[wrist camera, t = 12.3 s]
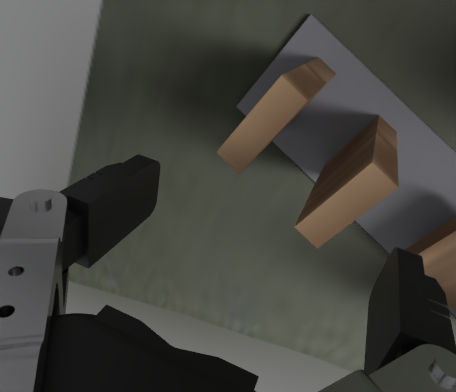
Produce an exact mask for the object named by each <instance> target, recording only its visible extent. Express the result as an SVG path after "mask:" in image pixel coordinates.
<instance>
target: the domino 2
mask: <svg viewBox="0 0 456 392" xmlns="http://www.w3.org/2000/svg"><path fill="white" fill-rule="evenodd" d="M397 188H399V185H398V158H397V132H396V131H395V130H394V129H393V128H392V127H391V126H390V125H389V124H388V123H387V122H386V121H385V120H384V119H383V118H382V117H381V116H380V115H378V116H377V117H376V118H375V119H374V120H373V121H372V122H371V123H369V124H368V125H367V126H366V127H365V128H364V129H363V130H362V131H361V132H360V133H358V134H357V135H356V136H355V137H354V138H353V139H352V140H351V141H350V142H349V143H347V144H346V145H345V146H344V147H343V148H342V149H341V150H340V151H339V152H337V153H336V154H335V155H334V156H333V157H332V158H331V159H330V160H329V161H328V162H326V163H325V164H324V166H323V168H322V170H321V173H320V175H319V177H318V179H317V181H316V183H315V185H314V187H313V189H312V191H311V194H310V196H309V198H308V200H307V202H306V204H305V206H304V208H303V210H302V212H301V215H300V217H299V219H298V221H297V223H296V225H295V228H296V229H297V230H298V231H299V232H300V233H301V234H302V235H303V236H304V237H305V238H306V239H308V240H309V241H310V242H311V243H312V244H313V245H314V246H315V247H316V248H317V249H318V248H319V247H320V246H322V245H323V244H324V243H326V242H327V241H328V240H330V239H331V238H332V237H334V236H335V235H336V234H338V233H339V232H340V231H342V230H343V229H344V228H346V227H347V226H348V225H350V224H351V223H352V222H354V221H355V220H356V219H358V218H359V217H360V216H362V215H363V214H364V213H366V212H367V211H368V210H370V209H371V208H372V207H374V206H375V205H376V204H378V203H379V202H380V201H382V200H383V199H384V198H386V197H387V196H388V195H390V194H391V193H392V192H393V191H395V190H396V189H397Z"/></svg>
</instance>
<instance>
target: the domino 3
mask: <svg viewBox="0 0 456 392" xmlns="http://www.w3.org/2000/svg"><path fill="white" fill-rule="evenodd" d="M405 250H407V251H409V252H412V253H415V254H418V255H421V256H422V258H423V264H424V272H425V275H427V276H430V277H432V278H435V279H436V280H437V282H438V283H439V285H440V286H441V287H442V289H443V290H444V292H445V294H446V299H447V304H448V306H449V307H450V308H452V309H453V310H454V311H455V312H456V217H455V218H454V219H452V220H450V221H449V222H447V223H446V224H444V225H443V226H441V227H439V228H438V229H436V230H435V231H433V232H432V233H430V234H428V235H427V236H425V237H424V238H422V239H421V240H419V241H417V242H416V243H414V244H413V245H411V246H410V247H408V248H407V249H405Z"/></svg>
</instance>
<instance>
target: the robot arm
mask: <svg viewBox="0 0 456 392" xmlns="http://www.w3.org/2000/svg"><path fill="white" fill-rule="evenodd" d="M159 175H160V163H159V162H158V161H156V160H153V159H150V158H147V157H144V156H142V155H136V156H134V157H132V158H131V159H129V160H127V161H125V162H124V163H117V164H112V165H108V166H105V167H103V168H102V169H100V170H98V171H96V173H93V174H91V175H89V176H87V178H84V179H82V180H80V181H78V182H76V183H74V184H73V185H71V186H69V187H67V188H65V189H64V190H62V191H60V192H57V191H53V190H46V189H38V190H32V191H27V192H24V193H22V194H20V195H18V196H17V197H16V198H15V199H8V198H2V197H0V392H256V391H255V390H254V388H255V385H256V383H257V380H258V376H256V375H255V374H252V373H250V372H248V371H246V370H244V369H242V368H240V367H238V366H236V365H233V364H231V363H229V362H227V361H225V360H223V359H220V358H218V357H214V356H210V355H205V354H200V353H196V352H192V351H187V350H182V349H178V348H175V347H173V346H171V345H169V344H168V343H167V342H166V341H165V340H163V339H162V338H161V337H160V336H159V335H157V334H156V333H155V332H154V331H153V330H151V329H150V328H149V327H148V326H147V325H145V324H144V323H143V322H142V321H140V320H138V319H136V318H134V317H132V316H130V315H127V314H125V313H123V312H121V311H119V310H116V309H115V308H113V307H110V306H108V305H106V306H105V307H104V308H103V309H102V310H101V311H100V312H99V313H98V314H97V315H92V314H80V313H79V314H78V313H75V314H74V313H73V314H65V313H66V303H67V293H68V282H69V266H71V265H72V264H73V263H74V262H75V263H78V264H80V265H82V266H84V267H86V268H90V267H91V266H92V265H93V264H94V263H95V262H97V261H98V260H99V259H100V258H101V257H102V256H104V255H105V254H106V253H107V252H108V251H109V250H111V249H112V248H113V247H114V246H115V245H116V244H118V243H119V242H120V241H121V240H122V239H123V238H125V237H126V236H127V235H128V234H129V233H130V232H132V231H133V230H134V229H135V228H136V227H137V226H139V225H140V224H141V223H142V222H143V221H144V220H146V219H147V218H148V217H149V216H150V215H151V213H152V212H153V210H154V208H155V205H156V202H157V194H158V185H159ZM447 307H448V304H447V299H446V294H445V292H444V290H443V289H442V287H441V286H440V285H439V283H438V282H437V280H436V279H435V278H432V277H430V276H427V275H425V272H424V264H423V258H422V256H421V255H418V254H415V253H412V252H409V251H407V250H404V249H401V248H398V247H395V248H394V249H393V250H392V252H391V254H390V256H389V258H388V260H387V262H386V264H385V266H384V268H383V269H382V271H381V273H380V275H379V277H378V279H377V281H376V283H375V285H374V287H373V290H372V293H371V296H370V300H369V307H368V321H367V335H366V349H365V364H364V371H363V370H357V371H355V372H353V373H351V374H349V375H347V376H346V377H344V378H342V379H340V380H339V381H337V382H335V383H333V384H331V385H329V386H328V387H326V388H324V389H322V390H321V391H319V392H456V345H455V340H454V335H453V330H452V325H451V320H450V319H449V318H450V315H449V309H448V308H447Z"/></svg>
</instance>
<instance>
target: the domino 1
mask: <svg viewBox="0 0 456 392" xmlns="http://www.w3.org/2000/svg"><path fill="white" fill-rule="evenodd" d="M335 75H336V73H335V72H334V71H333V70H332V69H331V68H330V67H329V66H328V65H327V64H326V63H324V62H323V61H322V60H321V59H320V58H319V57H318V58H316V59H314V60H312V61H310V62H308V63H306V64H304V65H302V66H300V67H297V68H295V69H293V70H291V71H289V72H287V73H285V74H283V75H281V76H280V77H279V79H278V80H277V81H276V82H275V83H274V85H273V86H272V87H271V88H270V89H269V90H268V92H267V93H266V94H265V95H264V96H263V97H262V99H261V100H260V101H259V102H258V103H257V105H256V106H255V107H254V108H253V109H252V110H251V112H250V113H249V114H248V115H247V116H246V118H245V119H244V120H243V121H242V122H241V123H240V125H239V126H238V127H237V128H236V129H235V131H234V132H233V133H232V134H231V135H230V136H229V138H228V139H227V140H226V141H225V142H224V144H223V145H222V146H221V147H220V148H219V149H218V151H217V153H218V154H219V155H220V156H221V157H222V158H223V159H224V160H225V161H226V162H227V163H228V164H229V165H230V166H231V167H232V168H233V169H234V170H235V171H236V172H237V173H238V174H239V173H240V172H241V171H242V170H243V169H245V168H246V167H247V166H248V165H249V164H250V163H251V162H252V161H253V160H254V159H255V158H256V157H257V156H258V155H259V154H260V153H261V152H262V151H263V150H264V149H265V148H266V147H267V146H268V145H269V144H270V143H271V142H272V141H273V140H274V139H275V138H276V137H277V136H278V135H279V134H280V133H281V132H282V131H283V130H284V129H285V128H286V127H287V126H288V125H289V124H290V123H291V121H292V120H293V119H294V118H295V117H296V116H297V115H298V114H299V113H300V112H301V111H302V110H303V109H304V108H305V107H306V106H307V105H308V103H309V102H310V101H311V100H312V99H313V98H314V97H315V96H316V95H317V94H318V93H319V92H320V91H321V90H322V89H323V88H324V87H325V85H326V84H327V83H328V82H329V81H330V80H331V79H332V78H333V77H334V76H335Z"/></svg>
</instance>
